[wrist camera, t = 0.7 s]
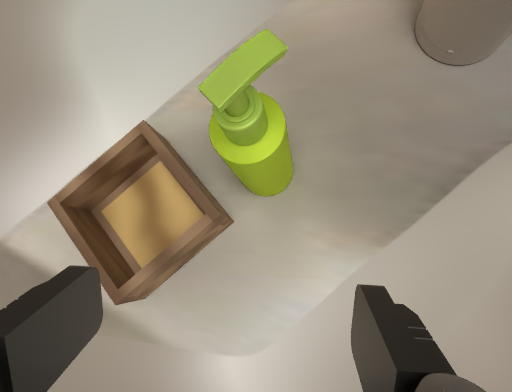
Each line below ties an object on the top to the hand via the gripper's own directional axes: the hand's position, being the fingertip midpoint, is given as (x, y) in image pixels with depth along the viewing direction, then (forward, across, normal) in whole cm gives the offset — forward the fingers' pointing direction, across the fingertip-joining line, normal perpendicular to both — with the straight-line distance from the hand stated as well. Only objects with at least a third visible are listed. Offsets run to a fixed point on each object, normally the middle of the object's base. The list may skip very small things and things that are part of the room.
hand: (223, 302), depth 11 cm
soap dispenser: (+29, 0, 0) cm, 29 cm away
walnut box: (+28, +12, +6) cm, 31 cm away
